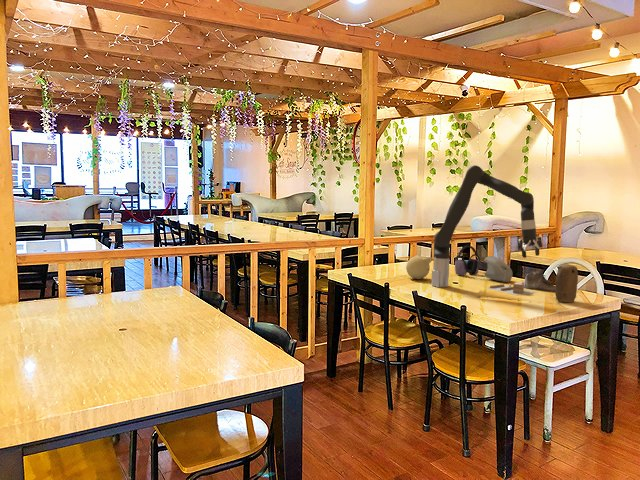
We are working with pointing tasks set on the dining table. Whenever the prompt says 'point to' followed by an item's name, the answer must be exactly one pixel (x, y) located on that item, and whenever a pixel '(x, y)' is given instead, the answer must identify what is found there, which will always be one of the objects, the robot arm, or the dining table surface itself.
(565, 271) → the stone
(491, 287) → the panel
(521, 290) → the reddish brown block
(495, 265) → the decorative stone
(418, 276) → the toy
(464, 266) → the headphones
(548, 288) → the shoe
